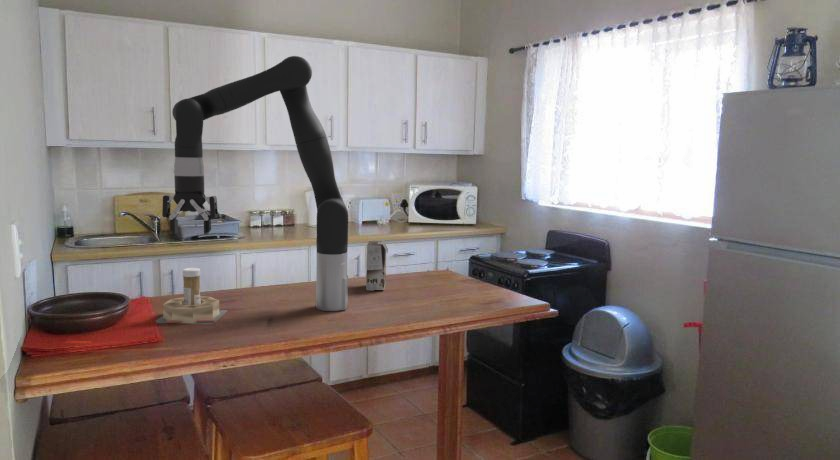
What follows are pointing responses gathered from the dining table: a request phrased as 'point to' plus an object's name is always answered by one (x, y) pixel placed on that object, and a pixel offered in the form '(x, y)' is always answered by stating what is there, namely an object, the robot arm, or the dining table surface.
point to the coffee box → (376, 266)
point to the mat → (221, 312)
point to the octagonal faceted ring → (191, 310)
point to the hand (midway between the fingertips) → (190, 233)
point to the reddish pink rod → (196, 321)
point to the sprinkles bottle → (191, 286)
